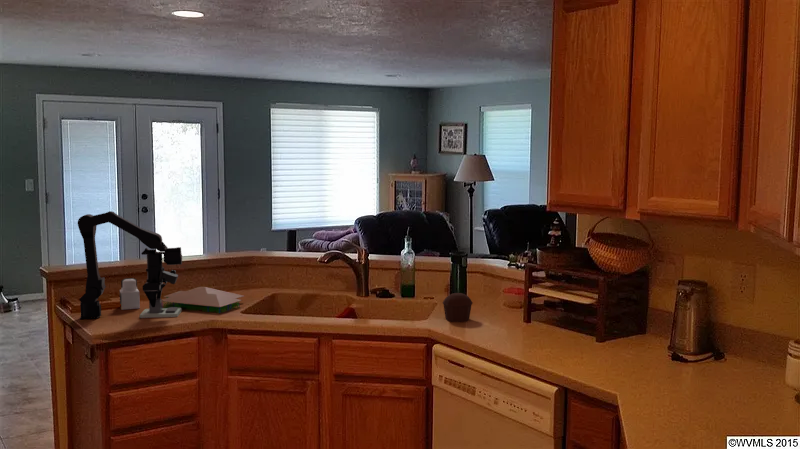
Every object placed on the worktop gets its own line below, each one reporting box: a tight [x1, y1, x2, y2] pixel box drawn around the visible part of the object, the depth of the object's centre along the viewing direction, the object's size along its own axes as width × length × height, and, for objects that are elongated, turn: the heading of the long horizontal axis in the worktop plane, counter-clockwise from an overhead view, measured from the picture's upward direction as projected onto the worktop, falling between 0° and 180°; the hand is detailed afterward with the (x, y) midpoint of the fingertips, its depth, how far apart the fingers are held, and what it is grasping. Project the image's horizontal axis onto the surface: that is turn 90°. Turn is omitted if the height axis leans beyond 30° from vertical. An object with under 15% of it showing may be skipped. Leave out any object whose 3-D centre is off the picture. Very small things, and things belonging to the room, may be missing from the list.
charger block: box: [148, 298, 163, 313], centre depth 286 cm, size 4×4×6 cm
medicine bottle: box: [119, 277, 141, 311], centre depth 299 cm, size 7×7×12 cm
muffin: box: [442, 292, 473, 323], centre depth 278 cm, size 12×11×10 cm
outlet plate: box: [139, 306, 183, 319], centre depth 287 cm, size 14×11×2 cm
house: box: [162, 286, 245, 314], centre depth 304 cm, size 23×33×8 cm
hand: (155, 304), depth 286 cm, fingers open, 9 cm apart
